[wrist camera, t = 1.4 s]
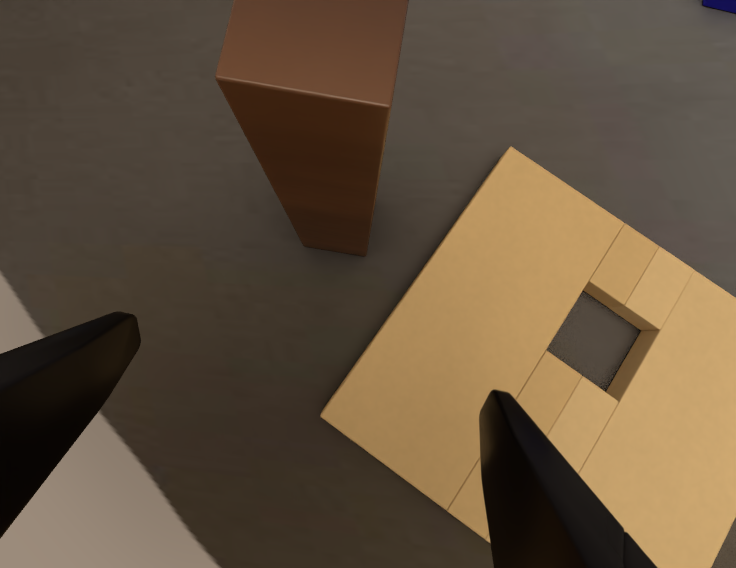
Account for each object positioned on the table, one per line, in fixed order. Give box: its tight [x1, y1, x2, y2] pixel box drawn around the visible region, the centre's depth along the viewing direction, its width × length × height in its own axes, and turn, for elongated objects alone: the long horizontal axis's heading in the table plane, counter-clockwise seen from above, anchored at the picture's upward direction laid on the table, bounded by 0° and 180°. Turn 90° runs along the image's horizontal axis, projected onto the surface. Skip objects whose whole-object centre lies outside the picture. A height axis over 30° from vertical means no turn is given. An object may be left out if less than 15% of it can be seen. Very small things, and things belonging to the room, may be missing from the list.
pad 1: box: [320, 147, 659, 539], centre depth 22 cm, size 20×11×2 cm, turn 144°
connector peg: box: [215, 0, 409, 256], centre depth 16 cm, size 4×4×15 cm
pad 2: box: [485, 247, 736, 568], centre depth 21 cm, size 20×11×2 cm, turn 144°
